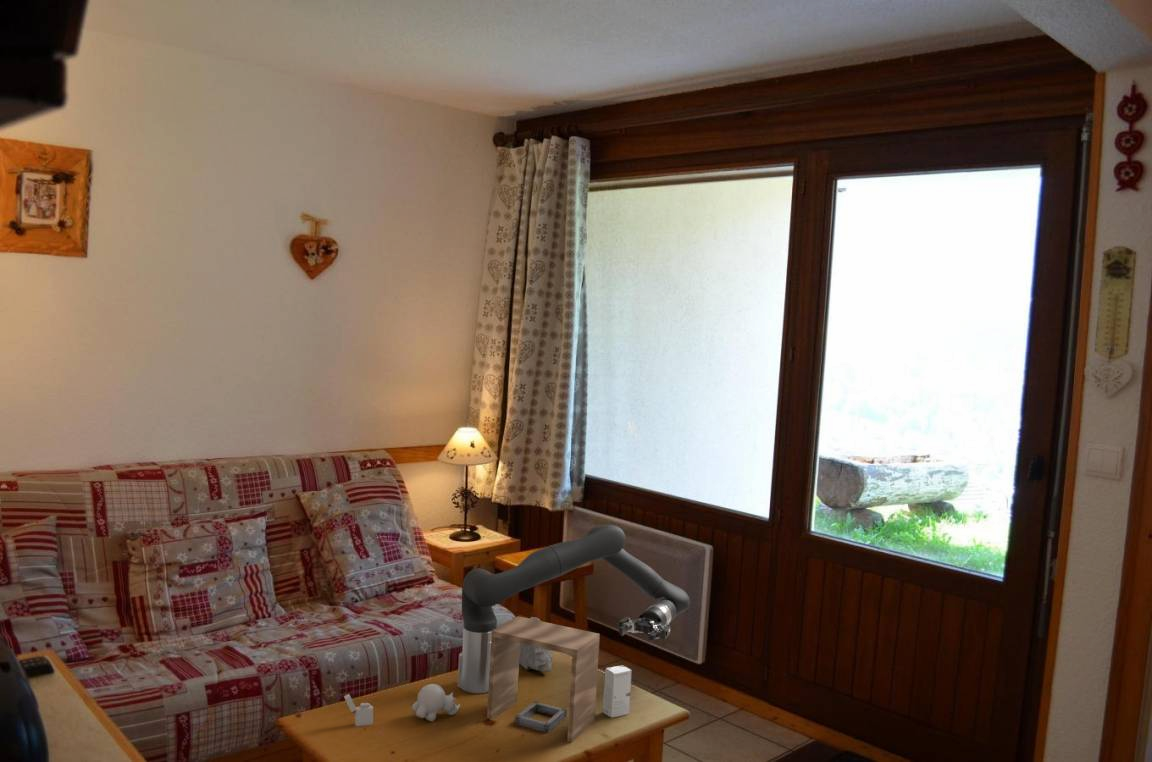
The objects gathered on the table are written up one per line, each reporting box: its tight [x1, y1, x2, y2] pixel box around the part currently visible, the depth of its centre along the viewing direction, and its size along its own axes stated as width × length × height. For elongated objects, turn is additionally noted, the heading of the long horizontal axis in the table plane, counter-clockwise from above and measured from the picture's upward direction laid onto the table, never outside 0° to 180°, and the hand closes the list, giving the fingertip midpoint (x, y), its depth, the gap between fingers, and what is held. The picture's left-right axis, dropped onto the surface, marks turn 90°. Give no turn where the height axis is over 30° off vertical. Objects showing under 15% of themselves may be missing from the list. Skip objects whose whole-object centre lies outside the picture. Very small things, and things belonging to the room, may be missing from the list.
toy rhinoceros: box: [411, 683, 461, 722], centre depth 231 cm, size 7×12×8 cm, turn 114°
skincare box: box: [602, 664, 633, 718], centre depth 240 cm, size 6×4×12 cm
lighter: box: [343, 693, 374, 727], centre depth 224 cm, size 7×2×8 cm, turn 113°
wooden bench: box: [486, 615, 601, 744], centre depth 232 cm, size 24×14×24 cm, turn 65°
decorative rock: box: [519, 616, 554, 672], centre depth 268 cm, size 16×7×15 cm, turn 31°
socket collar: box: [514, 701, 567, 734], centre depth 233 cm, size 9×11×2 cm
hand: (635, 635), depth 249 cm, fingers open, 8 cm apart
